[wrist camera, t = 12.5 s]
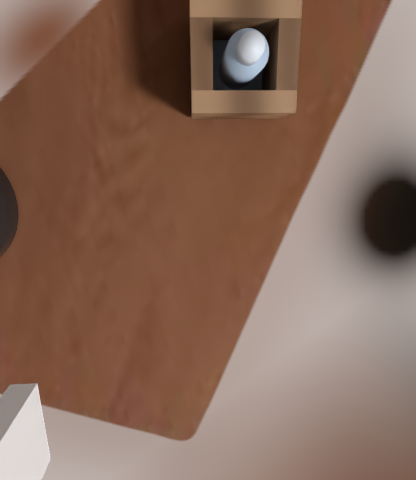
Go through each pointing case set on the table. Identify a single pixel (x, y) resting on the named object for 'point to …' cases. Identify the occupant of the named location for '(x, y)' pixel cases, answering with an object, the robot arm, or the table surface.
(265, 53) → the pale blue pawn
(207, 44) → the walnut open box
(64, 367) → the table surface
